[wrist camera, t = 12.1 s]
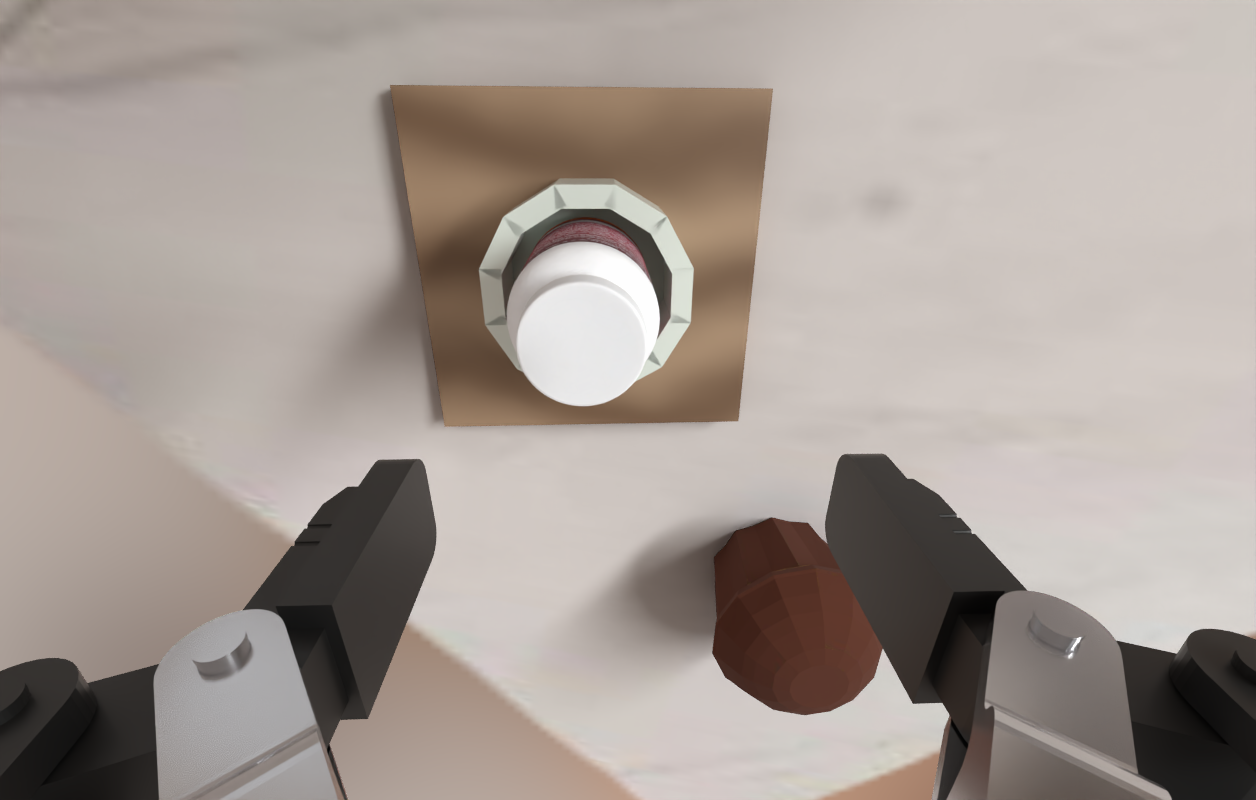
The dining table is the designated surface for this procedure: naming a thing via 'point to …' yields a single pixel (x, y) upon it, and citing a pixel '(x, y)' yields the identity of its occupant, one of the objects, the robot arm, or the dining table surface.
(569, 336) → the pill bottle
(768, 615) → the muffin
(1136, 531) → the dining table surface
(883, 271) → the dining table surface
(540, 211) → the pale green bowl
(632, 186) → the walnut board
